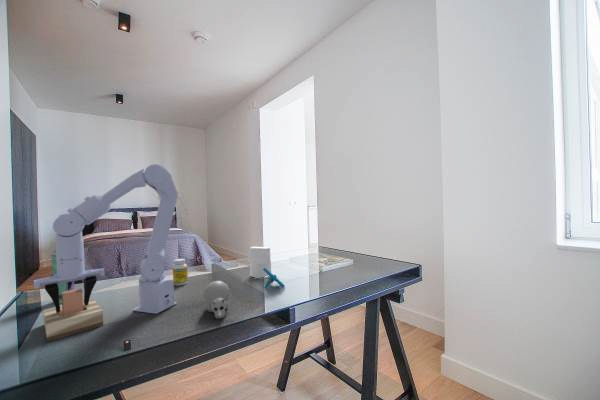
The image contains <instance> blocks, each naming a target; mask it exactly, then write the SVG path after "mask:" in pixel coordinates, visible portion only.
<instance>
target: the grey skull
mask: <svg viewBox="0 0 600 400" xmlns="http://www.w3.org/2000/svg"><path fill="white" fill-rule="evenodd" d="M230 294H231V293H230V288H229V285H228V284H227V283H226V282H224V281H222V280H213V281H211V282H210V283H209V284H207V285H206V287H205V289H204V292H203V298H204V302H205V303H206V304H207V307H206V309H207V311H208V312H209V313H214V317H215V318H216V319H217V318H222V319H223V318H224V317H225V316H226V310H227V309H228V307H229V303H228V299H229V297H230ZM225 309H226V310H225Z"/></svg>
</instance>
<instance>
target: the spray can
mask: <svg viewBox="0 0 600 400" xmlns="http://www.w3.org/2000/svg"><path fill="white" fill-rule="evenodd" d="M51 266H52V267H51V270H52V271H51V272H52V274H51V275H52V276H56V275H57V260H56V248H54V250H52V251H51ZM63 281H64V280H63ZM58 288H59V304H62V292H65V291H70V290H75V281H71V282H66V283H60V284H58Z"/></svg>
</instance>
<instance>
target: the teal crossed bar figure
mask: <svg viewBox="0 0 600 400" xmlns="http://www.w3.org/2000/svg"><path fill="white" fill-rule="evenodd" d="M263 270H264V271H265V272H266V273H267V274H268V275H269V277H267V279H268V280H267V281H266V282H265V283H264V285H265V286H264V287H263V289H265V290H267V289H268V287H270V286H271V284H273V283H274V282H276V283H277V284H278V285H279V286H281V288H285V284H284V283H283V282H282V281H280V279H279V278H277V275H276V274H273V273H272V272H271V273H270V272H269V271H268V270H267V269H266V268H264V269H263Z"/></svg>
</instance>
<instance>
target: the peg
mask: <svg viewBox="0 0 600 400" xmlns="http://www.w3.org/2000/svg"><path fill="white" fill-rule="evenodd" d="M83 301H84V290H82V288H76V289H75V288H74V290H70V291H65V292H62V303H61V306H62V316H64V315H68V314H72V313H76V312H80V311H83Z"/></svg>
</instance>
